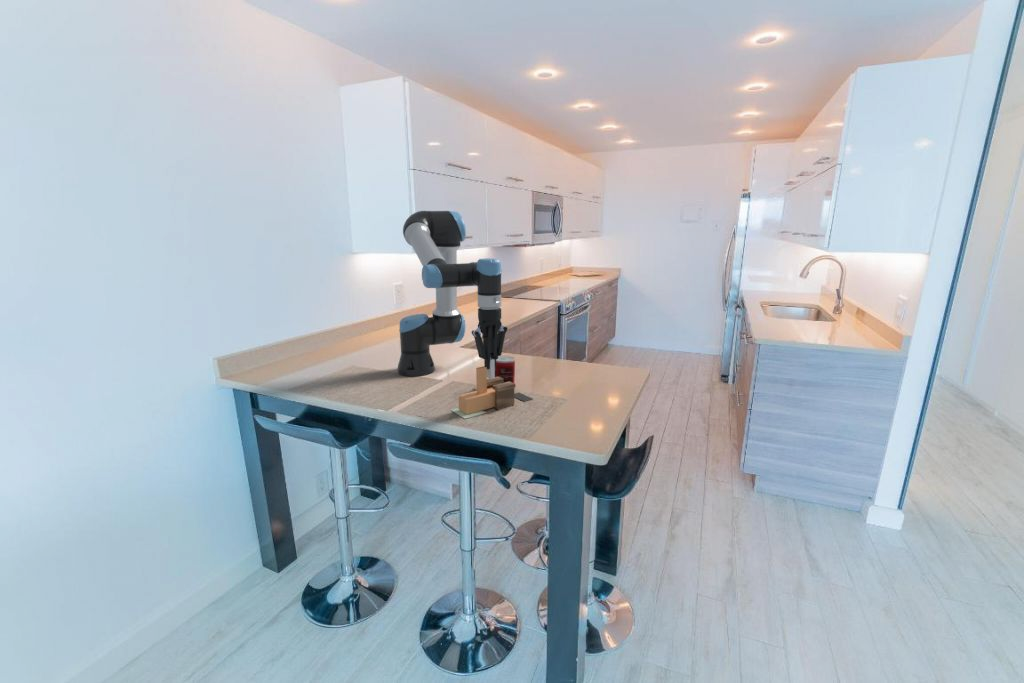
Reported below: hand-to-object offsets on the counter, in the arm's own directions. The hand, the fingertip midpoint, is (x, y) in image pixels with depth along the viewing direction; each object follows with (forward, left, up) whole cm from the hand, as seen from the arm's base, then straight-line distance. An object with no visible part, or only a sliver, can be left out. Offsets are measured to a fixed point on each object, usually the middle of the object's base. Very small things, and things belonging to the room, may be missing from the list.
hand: (490, 377), depth 155 cm
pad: (0, -9, -10) cm, 13 cm away
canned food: (-13, +15, -10) cm, 22 cm away
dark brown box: (0, +3, -10) cm, 10 cm away
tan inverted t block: (0, -4, -10) cm, 11 cm away
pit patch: (0, +13, -10) cm, 16 cm away
